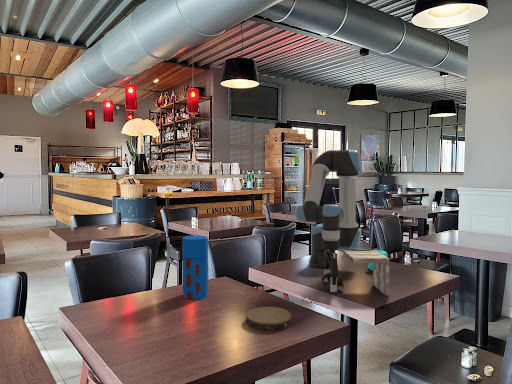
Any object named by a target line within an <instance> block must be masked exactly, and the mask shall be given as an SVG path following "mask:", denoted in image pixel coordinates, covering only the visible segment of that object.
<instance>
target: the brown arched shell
mask: <svg viewBox="0 0 512 384" xmlns="http://www.w3.org/2000/svg"><path fill="white" fill-rule="evenodd" d="M330 275H331V272H329V273H327V274H325V275H324V274H323V276H322V277H321V287H322V288H321V289H323V290H324V289H330V277H329V276H330ZM326 277H327V279H328V281H329V282H325V281H324V279H325V278H326ZM337 287H341V288H342V290H345V284H344V282H343V279H342V277H341V276H339V277H337Z"/></svg>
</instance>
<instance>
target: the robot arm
mask: <svg viewBox="0 0 512 384" xmlns="http://www.w3.org/2000/svg"><path fill="white" fill-rule="evenodd" d="M362 165H363V164H362V158H361V154H360V152H359V151H358V150H355V149H342V150H341V149H340V150H339V149H337V150H334V149H332V150H326V151H324V152H323V153H320V154H319V155H318V156H317V157H316V159H314V161H313V163H312V166H311V175H310V180H309V182H308V183H309V184H308V186H307V190H306V194H305V197H304V201H303V205H299V206H297V207H296V210H295V211H296V212H295V217H296V220H297V221H298V222H303V223H321V224H317V225H314V226H313V227H312V233H311V234H312V235H311V237H312V239H311V241H312V243H311V244H312V245H311V247H312V248H311V255H310V257H309V260H308V266H310V267H311V268H316V269H324V270H323V271H324V273H323V276H324V275H325V274H327V273H329V272H331V275H330V276H329V277H330V288H329V290H330V291H329V292H331V293H338V286H337V277H339V265H338V253H336V251H335V250H339V249H341V250H342V249H343V250H348V251H351V250H358V249H359V247H360V244H361V238H362V228H360V227H359V223H357V220H356V216H357V215H356V210H357V208H356V204H357V203H356V197H357V196H356V195H357V194H356V193H357V190H356V189H357V187H356V186H357V185H356V182H357V181H356V179H357V178H358V177H359V173H361V172H362ZM330 173H335V175H336V177H337V178H338V182H339V183H338V184H339V187H338V189H339V190H338V191H339V193H338V195H339V199H338V200H339V202H338V203H339V205H338V204H331V203H329V204H324V205H323V206H320V202H321V199H322V196H323V195H322V194H323V191H324V186H325V183H326V180H327V176H329V175H330ZM324 281H325V282H329V281H328V279H327V277H326V278H325V279H324Z"/></svg>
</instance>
